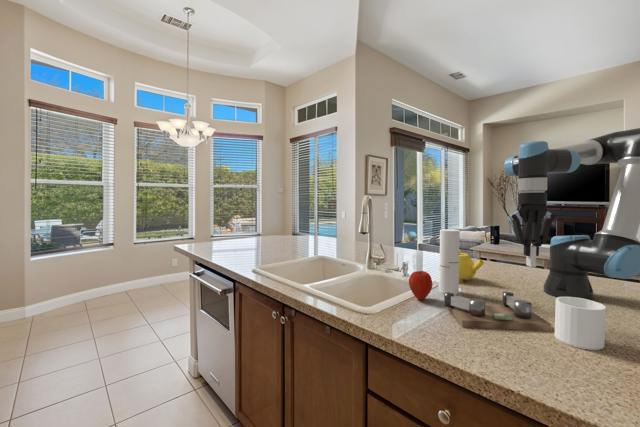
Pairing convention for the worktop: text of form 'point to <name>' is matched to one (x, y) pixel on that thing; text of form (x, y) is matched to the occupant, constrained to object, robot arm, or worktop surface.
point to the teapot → (467, 267)
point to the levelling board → (498, 324)
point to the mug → (580, 322)
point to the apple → (420, 284)
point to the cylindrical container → (449, 261)
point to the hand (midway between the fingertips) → (530, 266)
